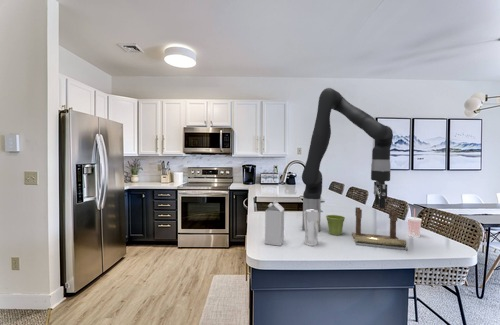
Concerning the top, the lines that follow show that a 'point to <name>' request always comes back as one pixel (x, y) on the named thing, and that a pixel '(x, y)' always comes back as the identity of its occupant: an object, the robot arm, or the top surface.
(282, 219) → the milk carton
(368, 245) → the slate mat
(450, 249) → the top surface
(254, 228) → the top surface
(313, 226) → the beer glass
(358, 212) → the hook stand
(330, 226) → the plant pot
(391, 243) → the brass rail
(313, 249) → the top surface
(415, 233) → the beverage cup
